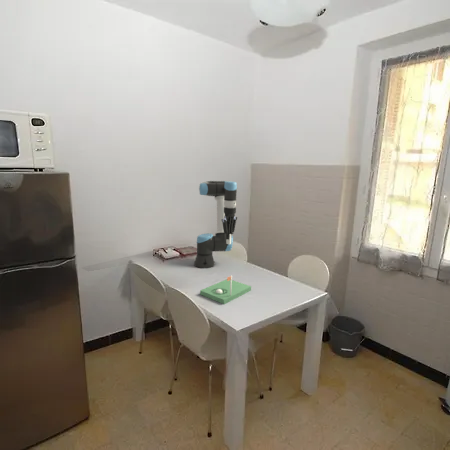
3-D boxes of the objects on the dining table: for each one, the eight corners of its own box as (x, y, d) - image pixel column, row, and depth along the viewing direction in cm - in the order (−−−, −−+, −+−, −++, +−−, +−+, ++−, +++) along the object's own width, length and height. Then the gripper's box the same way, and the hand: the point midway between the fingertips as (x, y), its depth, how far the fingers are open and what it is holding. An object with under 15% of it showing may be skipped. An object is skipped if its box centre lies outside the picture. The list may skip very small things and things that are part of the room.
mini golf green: (227, 282, 188) (228, 261, 185) (251, 290, 177) (252, 267, 174) (200, 294, 169) (200, 271, 167) (224, 304, 158) (224, 279, 155)
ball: (217, 295, 170) (213, 293, 167) (219, 289, 171) (216, 287, 168) (222, 297, 167) (218, 295, 164) (225, 291, 168) (221, 289, 166)
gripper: (227, 209, 175) (226, 247, 180) (241, 206, 184) (239, 242, 190) (218, 207, 179) (217, 244, 185) (231, 205, 189) (230, 240, 194)
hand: (228, 243), depth 187 cm, fingers closed
